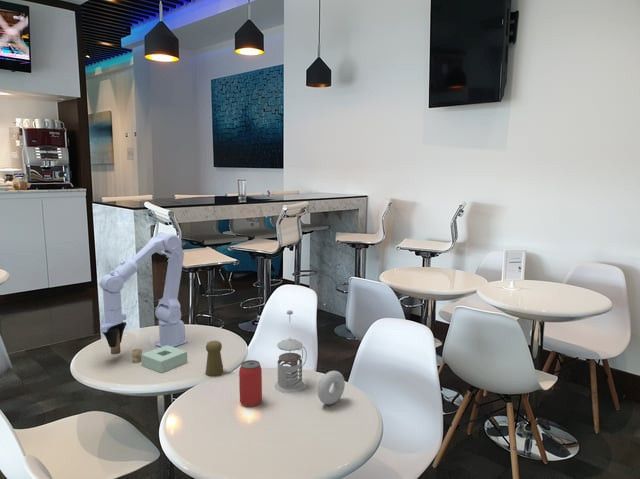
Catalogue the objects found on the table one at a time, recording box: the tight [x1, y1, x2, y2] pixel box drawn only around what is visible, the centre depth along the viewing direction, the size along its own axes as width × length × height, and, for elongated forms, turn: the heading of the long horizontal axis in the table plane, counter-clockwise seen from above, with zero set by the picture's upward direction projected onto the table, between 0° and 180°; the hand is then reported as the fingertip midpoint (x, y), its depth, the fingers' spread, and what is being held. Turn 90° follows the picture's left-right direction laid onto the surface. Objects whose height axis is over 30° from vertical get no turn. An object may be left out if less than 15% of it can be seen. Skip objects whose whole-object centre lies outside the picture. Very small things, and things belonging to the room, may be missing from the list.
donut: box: [317, 370, 346, 406], centre depth 137 cm, size 10×4×10 cm, turn 134°
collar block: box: [140, 345, 188, 374], centre depth 165 cm, size 11×11×4 cm
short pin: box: [131, 348, 143, 364], centre depth 168 cm, size 3×3×4 cm
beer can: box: [238, 359, 263, 408], centre depth 138 cm, size 7×7×12 cm
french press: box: [274, 309, 308, 394], centre depth 148 cm, size 10×12×25 cm
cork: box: [205, 340, 224, 378], centre depth 158 cm, size 6×6×11 cm
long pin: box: [110, 330, 121, 355], centre depth 168 cm, size 3×3×8 cm
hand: (115, 344), depth 168 cm, fingers closed on long pin, 3 cm apart
